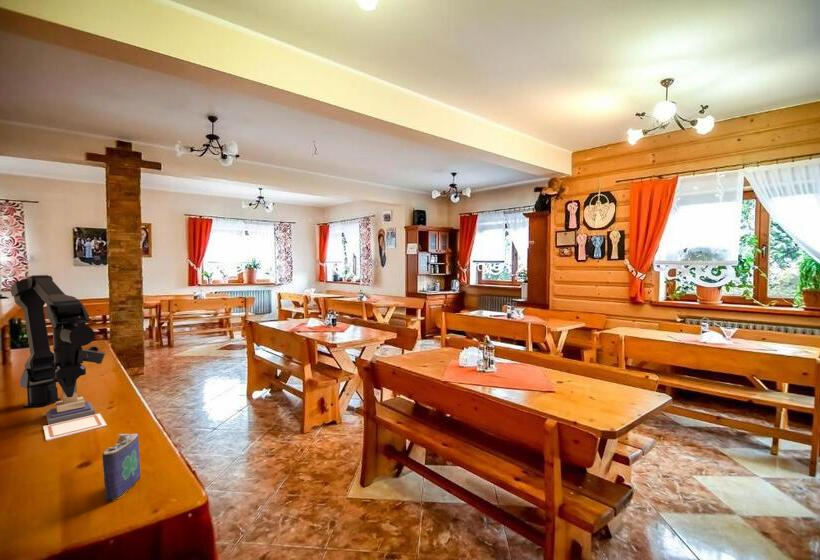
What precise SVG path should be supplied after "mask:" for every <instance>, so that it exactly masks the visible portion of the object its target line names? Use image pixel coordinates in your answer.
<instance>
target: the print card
mask: <svg viewBox="0 0 820 560" xmlns="http://www.w3.org/2000/svg"><path fill="white" fill-rule="evenodd" d="M107 426H108V424H107V423H106V420H105V419H104V418H103V416H102V414H101V413H95V414H93V415H88V416H84V417H80V418H75V419H71V420H66V421H62V422H57V423H53V424H49V425H43V426H42V429H43V433H44V437H45V441H46V442H48V441H52V440H57V439H60V438H65V437H68V436H73V435H76V434H81V433H83V432H89V431H91V430H92V431H93V430H97V429H100V428H104V427H107Z"/></svg>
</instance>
